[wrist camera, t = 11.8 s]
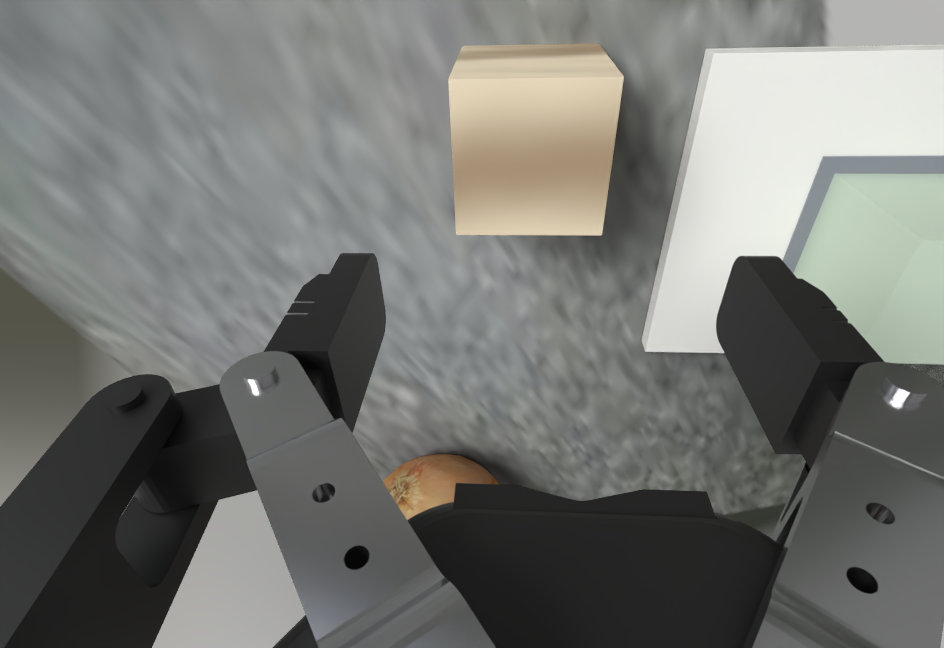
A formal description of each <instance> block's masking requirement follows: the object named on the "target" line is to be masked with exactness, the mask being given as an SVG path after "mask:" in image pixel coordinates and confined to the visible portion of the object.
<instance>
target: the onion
mask: <svg viewBox="0 0 944 648" xmlns="http://www.w3.org/2000/svg"><path fill="white" fill-rule="evenodd" d="M383 483H384V484H385V486H386V488H387V489H388V491H389V492H390V494H391V496H392V497H393V499H394V500H395V502H396V503H397V505H398V507H399V508H400V510H401V511H402V513H403V514H404V516H405V518H406V519H407V520H408V519H410V518H411V517H413V516H415V515H416V514H419V513H421V512H423V511H425V510H427V509H429V508H432V507H436V506H439V505H442V504H445V503H450V502H454V495H455V485H456V483H471V484H499V483H498V482H497V480H496V479H495V478H494V477H493V476H492V475H491V474H490V473H489V472H488V471H487V470H486V469H484V468H483V467H482V466H480V465H479V464H477V463H475V462H473V461H471V460H469V459H467V458H465V457H463V456H459V455H451V454H433V455H425V456H421V457H418V458H415V459H412V460H410V461H407V462H406V463H404V464H402V465H401V466H399V467H398V468H397V469H396V470H395V471H394V472H392V473H391V474H390V475H389V476H388V477H387V478H385V480H384V481H383Z"/></svg>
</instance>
